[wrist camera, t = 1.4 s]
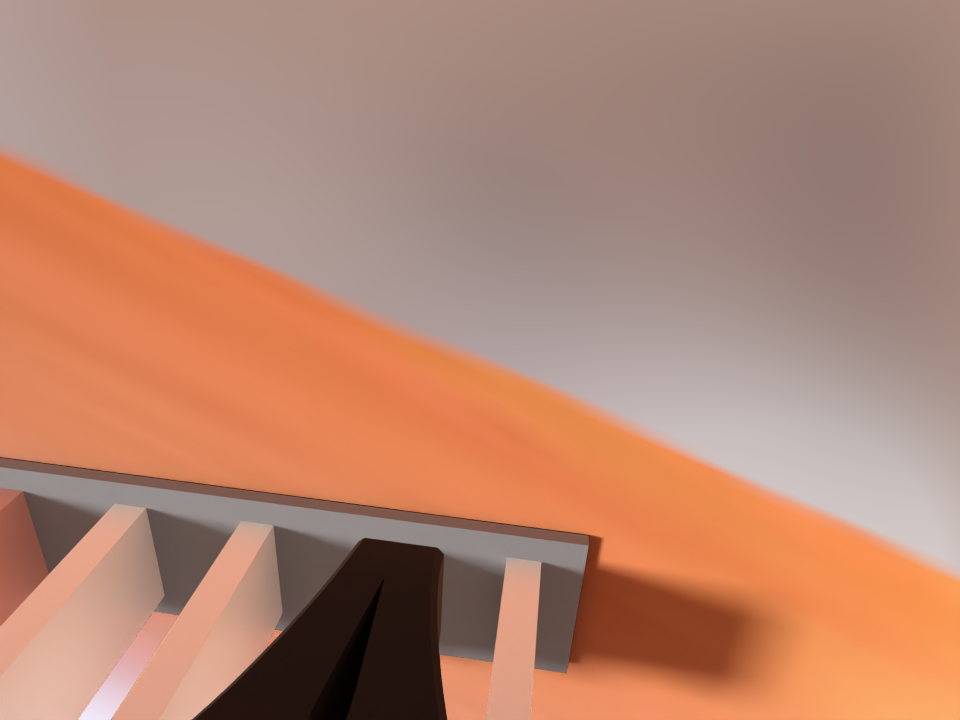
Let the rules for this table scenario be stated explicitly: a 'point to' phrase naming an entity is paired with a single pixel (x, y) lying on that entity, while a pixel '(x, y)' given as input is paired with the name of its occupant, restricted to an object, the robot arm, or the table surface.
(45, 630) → the tile
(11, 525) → the tile
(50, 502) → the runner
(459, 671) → the table surface
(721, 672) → the table surface
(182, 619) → the tile
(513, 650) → the tile
